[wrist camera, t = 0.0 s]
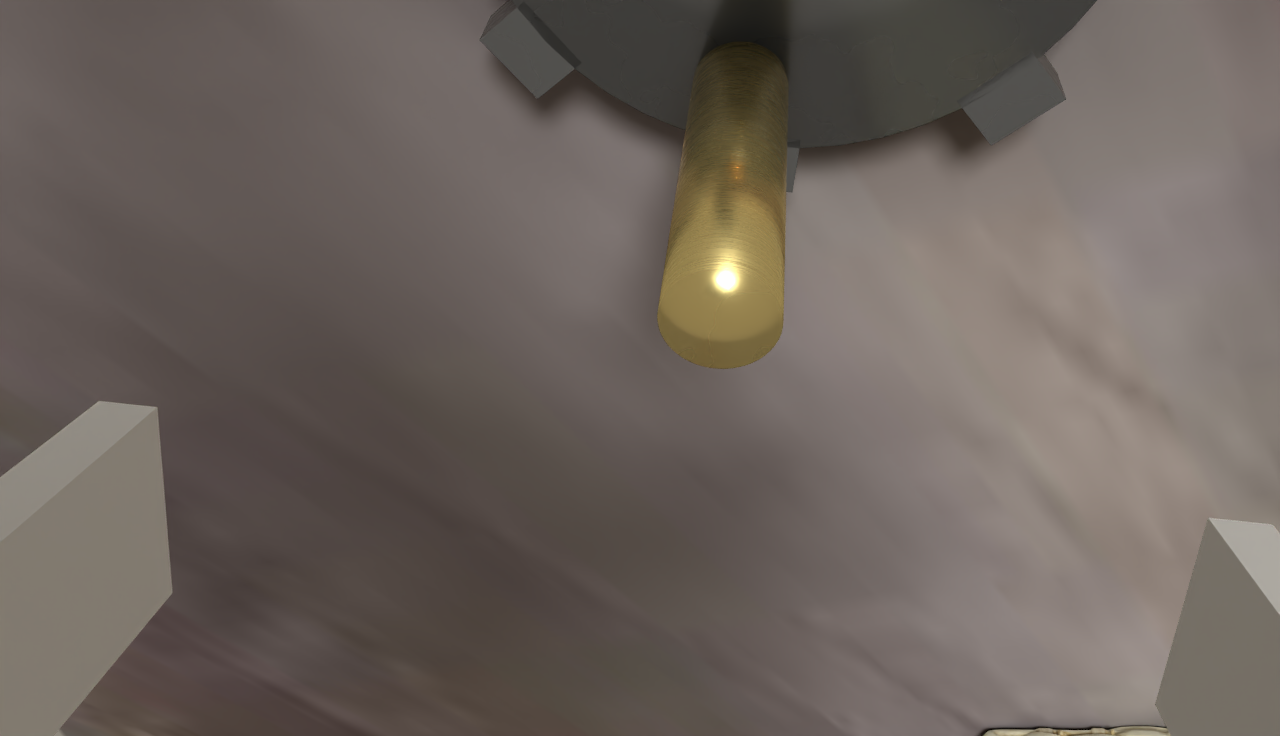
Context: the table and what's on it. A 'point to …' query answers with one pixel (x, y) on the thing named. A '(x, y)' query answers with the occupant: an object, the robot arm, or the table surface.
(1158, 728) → the storage basket
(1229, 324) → the table surface
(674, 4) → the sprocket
